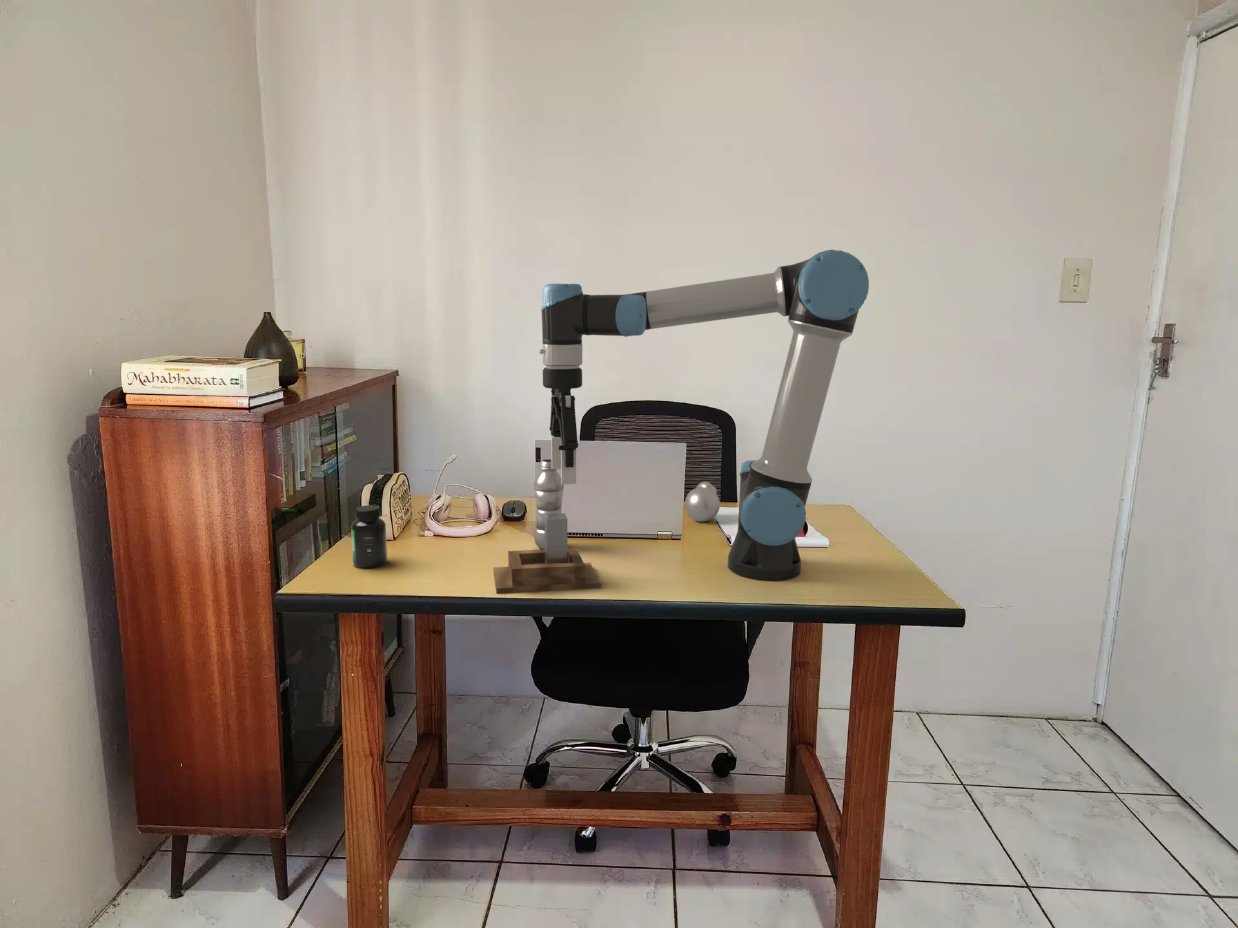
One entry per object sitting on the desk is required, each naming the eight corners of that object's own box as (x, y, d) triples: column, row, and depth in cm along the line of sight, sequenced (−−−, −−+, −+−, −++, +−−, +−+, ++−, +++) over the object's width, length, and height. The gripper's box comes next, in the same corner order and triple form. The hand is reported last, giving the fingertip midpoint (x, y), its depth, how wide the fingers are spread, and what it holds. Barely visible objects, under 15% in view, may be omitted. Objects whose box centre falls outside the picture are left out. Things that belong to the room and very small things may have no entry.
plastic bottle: (559, 553, 175) (560, 464, 171) (530, 551, 176) (529, 462, 172) (567, 545, 181) (568, 458, 177) (539, 542, 182) (538, 457, 178)
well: (590, 567, 166) (590, 546, 165) (600, 587, 155) (600, 565, 154) (493, 571, 162) (493, 550, 162) (496, 593, 151) (496, 570, 150)
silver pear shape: (728, 522, 202) (730, 484, 200) (698, 527, 197) (700, 488, 195) (705, 514, 209) (707, 477, 207) (676, 518, 204) (678, 480, 202)
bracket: (564, 570, 161) (564, 513, 159) (567, 577, 157) (567, 518, 155) (524, 572, 160) (524, 514, 157) (526, 579, 156) (526, 520, 153)
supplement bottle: (349, 569, 163) (346, 512, 160) (358, 558, 169) (355, 503, 167) (383, 569, 163) (380, 512, 161) (390, 558, 170) (388, 503, 167)
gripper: (535, 361, 163) (536, 463, 167) (551, 373, 139) (552, 491, 143) (571, 361, 164) (572, 462, 168) (593, 372, 140) (593, 489, 145)
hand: (563, 476), depth 156 cm, fingers open, 13 cm apart
